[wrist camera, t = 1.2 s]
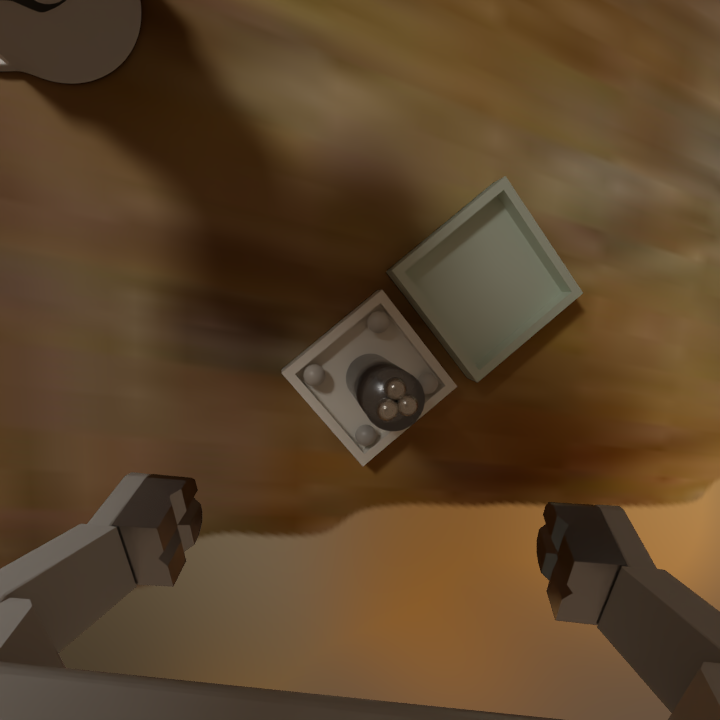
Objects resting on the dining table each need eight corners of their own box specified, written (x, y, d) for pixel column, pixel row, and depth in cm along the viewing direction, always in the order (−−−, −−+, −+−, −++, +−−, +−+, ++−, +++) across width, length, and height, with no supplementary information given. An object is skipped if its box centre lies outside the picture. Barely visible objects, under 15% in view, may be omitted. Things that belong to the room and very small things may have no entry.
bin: (385, 271, 52) (391, 270, 49) (493, 182, 52) (505, 176, 50) (467, 378, 55) (477, 382, 52) (567, 293, 56) (583, 293, 53)
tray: (281, 369, 51) (281, 374, 48) (377, 290, 52) (384, 289, 49) (359, 458, 54) (364, 469, 51) (449, 382, 55) (460, 388, 52)
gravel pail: (335, 375, 52) (353, 401, 38) (373, 343, 52) (403, 359, 39) (366, 411, 53) (393, 448, 40) (403, 380, 53) (442, 407, 40)
